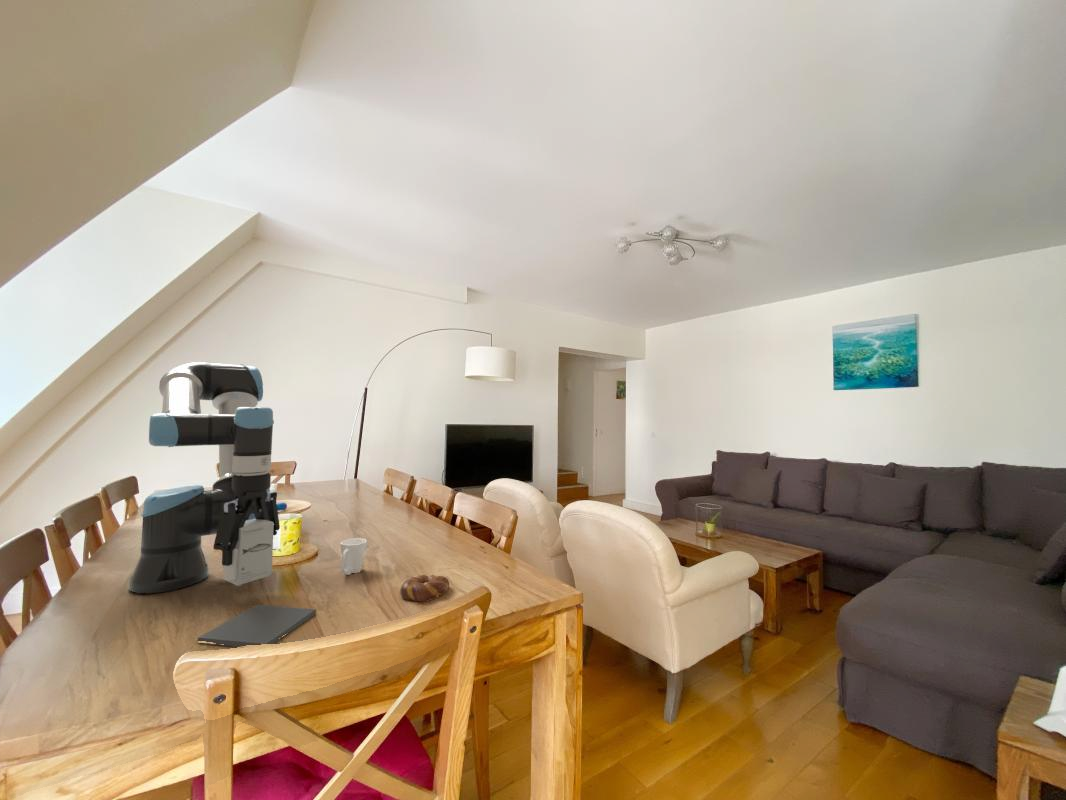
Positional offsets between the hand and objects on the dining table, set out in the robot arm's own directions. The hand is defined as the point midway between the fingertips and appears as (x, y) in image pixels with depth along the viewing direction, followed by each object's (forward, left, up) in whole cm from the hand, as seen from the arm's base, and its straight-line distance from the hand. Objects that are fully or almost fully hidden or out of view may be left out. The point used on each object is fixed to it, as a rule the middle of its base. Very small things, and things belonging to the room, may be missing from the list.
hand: (247, 570), depth 97 cm
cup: (+14, +19, -7) cm, 25 cm away
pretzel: (+39, +10, -7) cm, 41 cm away
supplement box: (0, 0, -2) cm, 2 cm away
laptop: (+13, -11, -6) cm, 19 cm away
